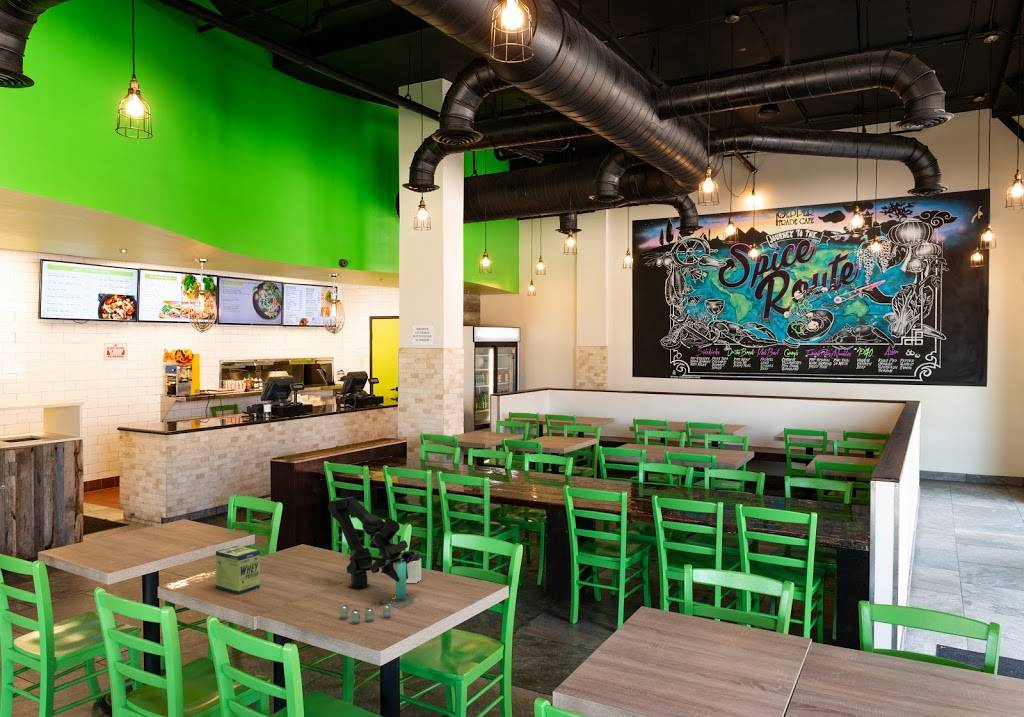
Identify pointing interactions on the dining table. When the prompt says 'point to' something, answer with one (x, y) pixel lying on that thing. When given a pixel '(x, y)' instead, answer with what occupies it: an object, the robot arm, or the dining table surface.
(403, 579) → the teal dowel
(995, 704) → the dining table surface
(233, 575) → the protein box
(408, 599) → the mat
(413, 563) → the jar
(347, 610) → the spacer posts
